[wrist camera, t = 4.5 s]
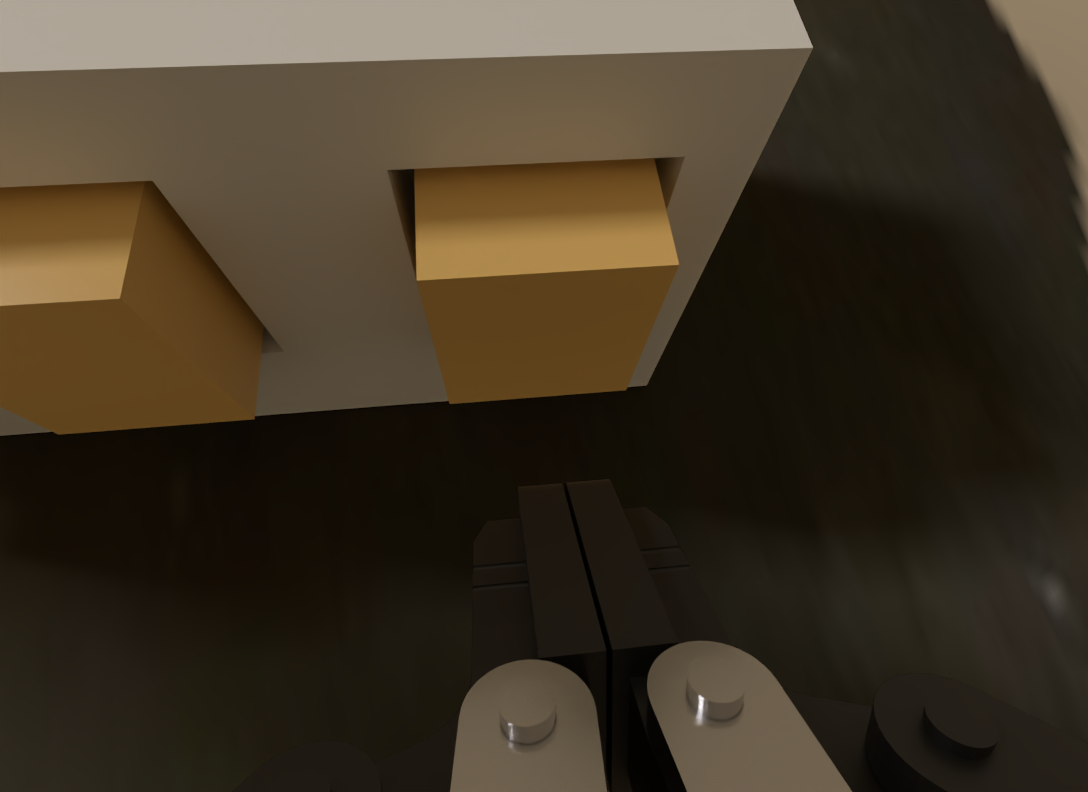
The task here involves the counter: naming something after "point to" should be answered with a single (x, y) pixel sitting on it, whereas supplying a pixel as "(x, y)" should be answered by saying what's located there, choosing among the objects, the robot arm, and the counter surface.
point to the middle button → (117, 314)
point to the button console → (382, 142)
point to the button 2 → (541, 274)
